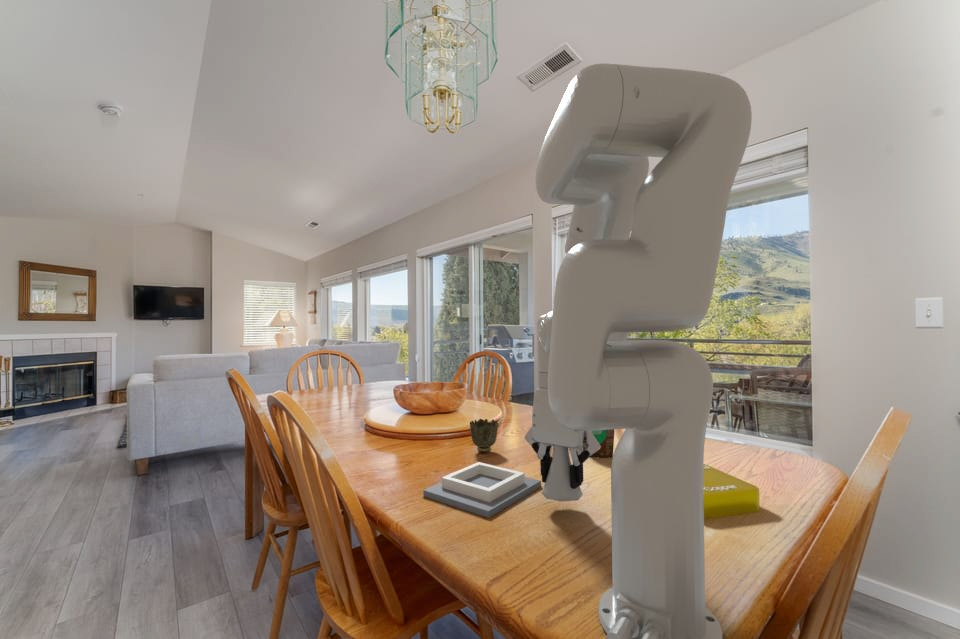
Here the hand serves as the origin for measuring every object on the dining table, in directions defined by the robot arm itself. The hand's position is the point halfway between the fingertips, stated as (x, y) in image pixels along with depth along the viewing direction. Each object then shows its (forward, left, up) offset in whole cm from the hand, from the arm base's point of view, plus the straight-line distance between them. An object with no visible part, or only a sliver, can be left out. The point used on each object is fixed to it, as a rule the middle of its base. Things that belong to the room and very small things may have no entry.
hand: (561, 482), depth 78 cm
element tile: (+20, -18, -6) cm, 28 cm away
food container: (+35, +10, -5) cm, 36 cm away
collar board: (-1, +17, -5) cm, 18 cm away
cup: (+20, +33, -5) cm, 39 cm away
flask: (0, 0, -3) cm, 3 cm away
